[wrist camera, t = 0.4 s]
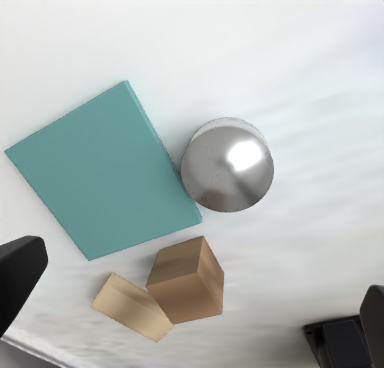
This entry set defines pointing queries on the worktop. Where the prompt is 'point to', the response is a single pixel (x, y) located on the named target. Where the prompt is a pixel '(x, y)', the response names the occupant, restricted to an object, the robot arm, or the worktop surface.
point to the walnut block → (187, 281)
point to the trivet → (106, 175)
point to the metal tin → (227, 165)
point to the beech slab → (132, 308)
